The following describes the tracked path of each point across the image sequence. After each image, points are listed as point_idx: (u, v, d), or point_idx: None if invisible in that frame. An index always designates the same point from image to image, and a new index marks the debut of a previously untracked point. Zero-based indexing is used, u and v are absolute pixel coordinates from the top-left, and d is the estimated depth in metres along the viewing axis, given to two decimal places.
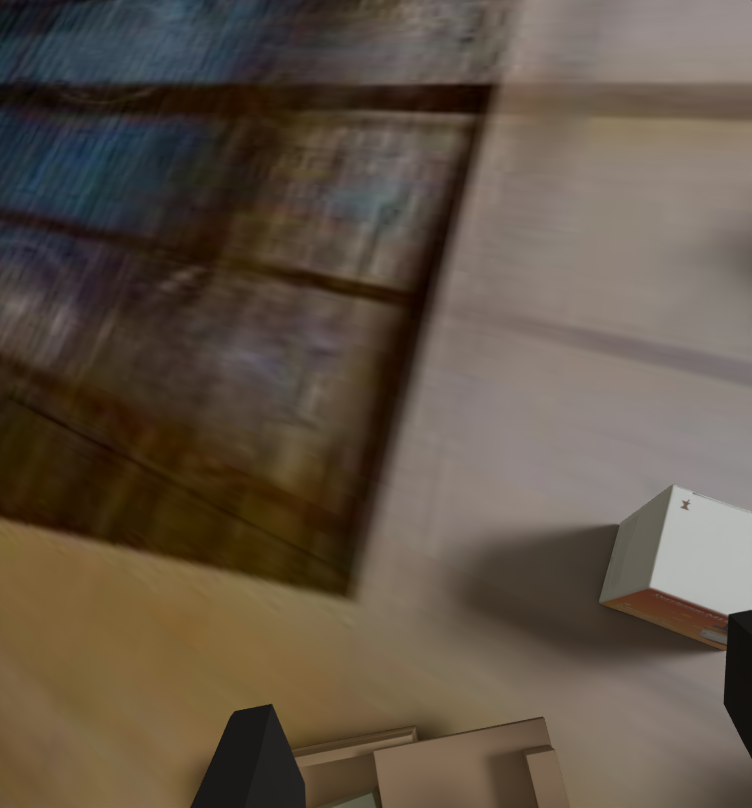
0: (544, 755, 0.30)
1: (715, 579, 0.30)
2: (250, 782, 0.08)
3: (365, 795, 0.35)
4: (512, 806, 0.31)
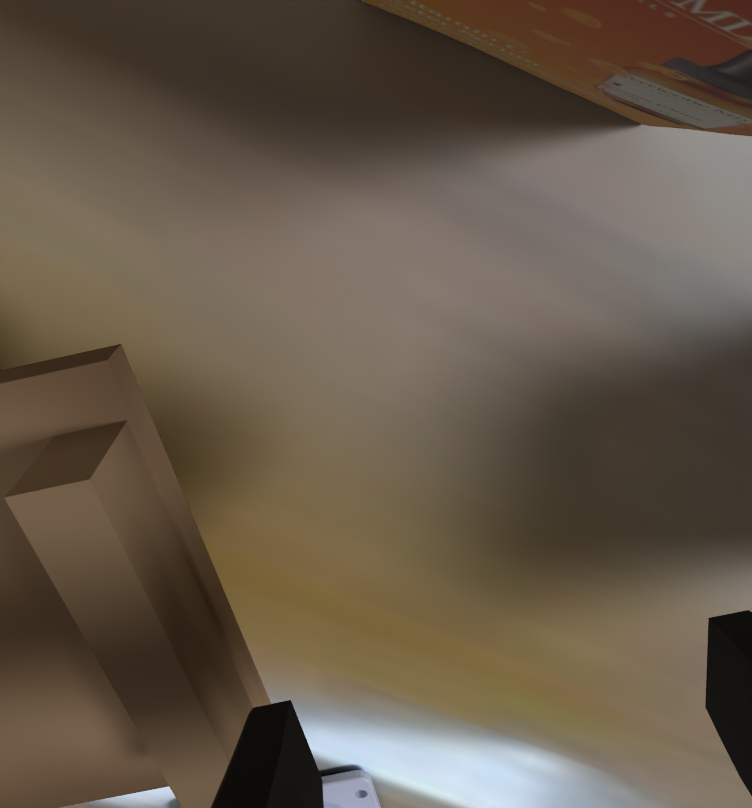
0: (58, 493, 0.10)
1: None
2: (272, 778, 0.08)
3: None
4: None
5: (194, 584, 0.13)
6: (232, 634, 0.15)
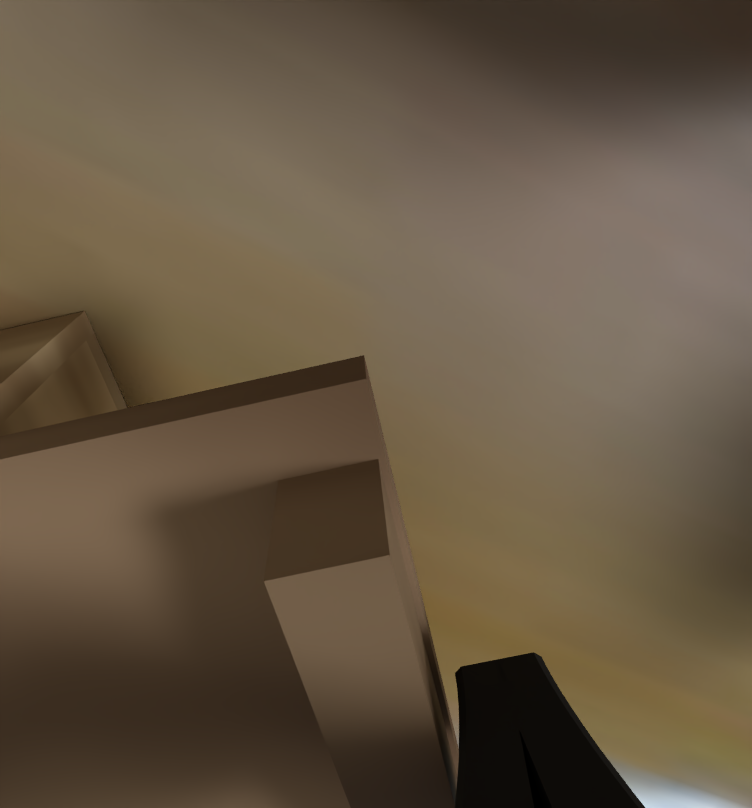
0: (342, 574, 0.07)
1: None
2: (517, 730, 0.08)
3: None
4: (251, 619, 0.10)
5: (429, 666, 0.10)
6: (450, 720, 0.11)
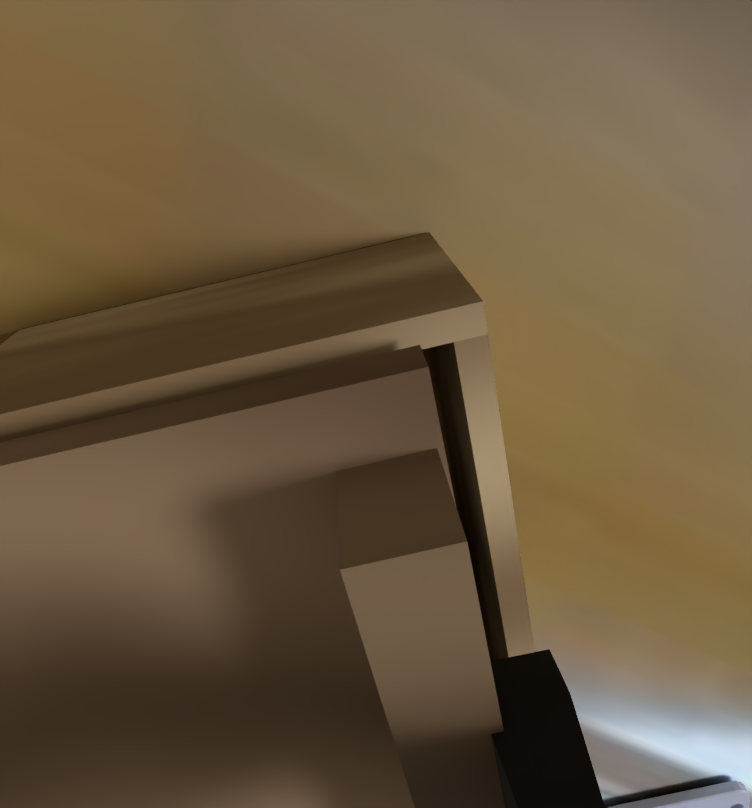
0: (419, 562, 0.07)
1: None
2: (576, 720, 0.08)
3: None
4: (302, 612, 0.10)
5: None
6: None
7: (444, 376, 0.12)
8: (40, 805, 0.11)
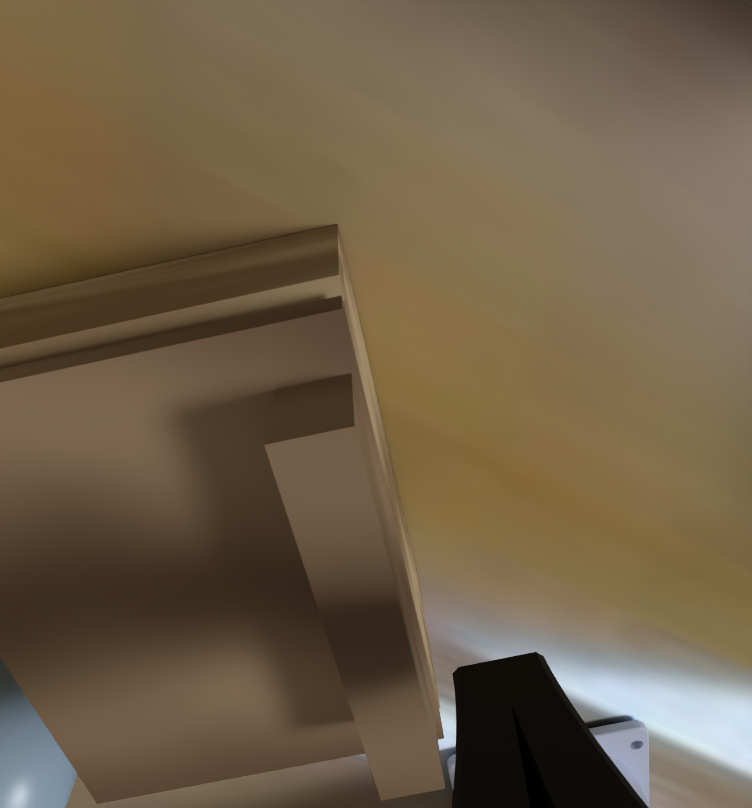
0: (321, 440, 0.10)
1: None
2: (514, 731, 0.08)
3: None
4: (252, 505, 0.12)
5: (393, 547, 0.13)
6: (412, 602, 0.14)
7: None
8: (46, 665, 0.14)
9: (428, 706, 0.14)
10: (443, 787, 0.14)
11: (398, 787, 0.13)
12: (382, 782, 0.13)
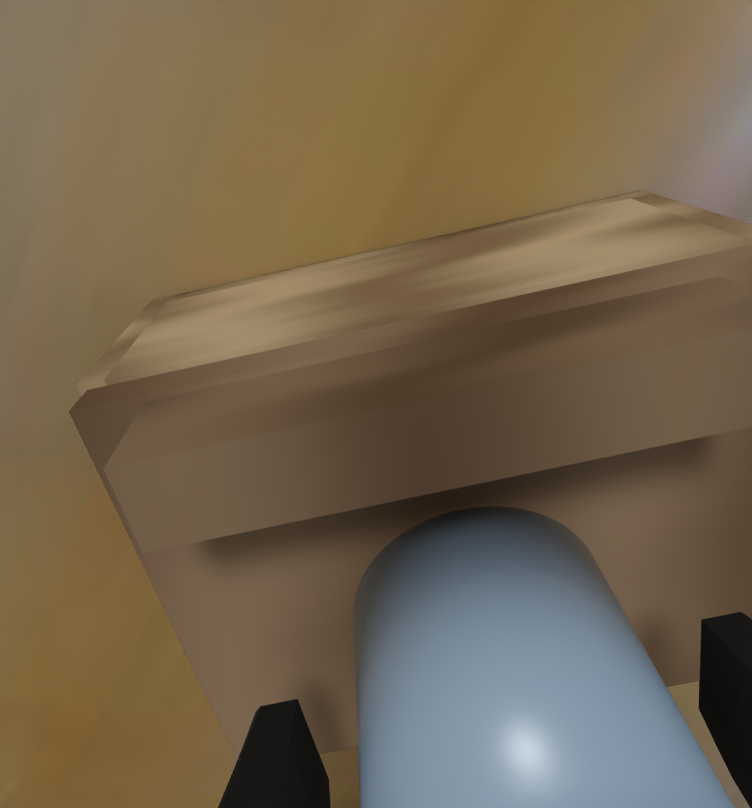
0: (129, 501, 0.08)
1: None
2: (279, 777, 0.08)
3: None
4: None
5: (387, 353, 0.10)
6: (511, 307, 0.10)
7: None
8: None
9: (655, 321, 0.09)
10: None
11: None
12: None
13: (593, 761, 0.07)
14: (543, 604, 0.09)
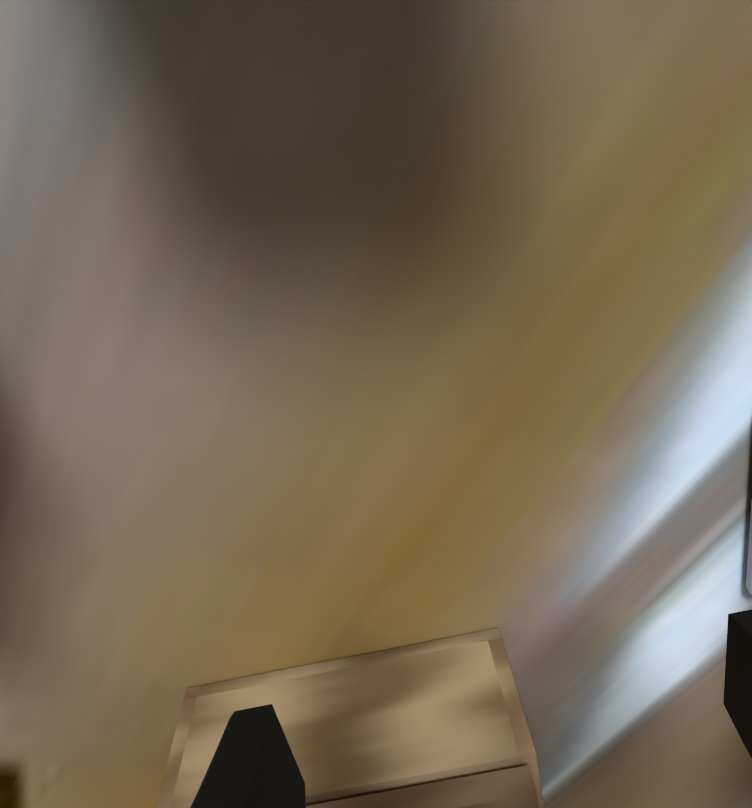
0: None
1: None
2: (250, 782, 0.08)
3: None
4: None
5: None
6: (387, 807, 0.19)
7: None
8: None
9: None
10: None
11: None
12: None
13: None
14: None
